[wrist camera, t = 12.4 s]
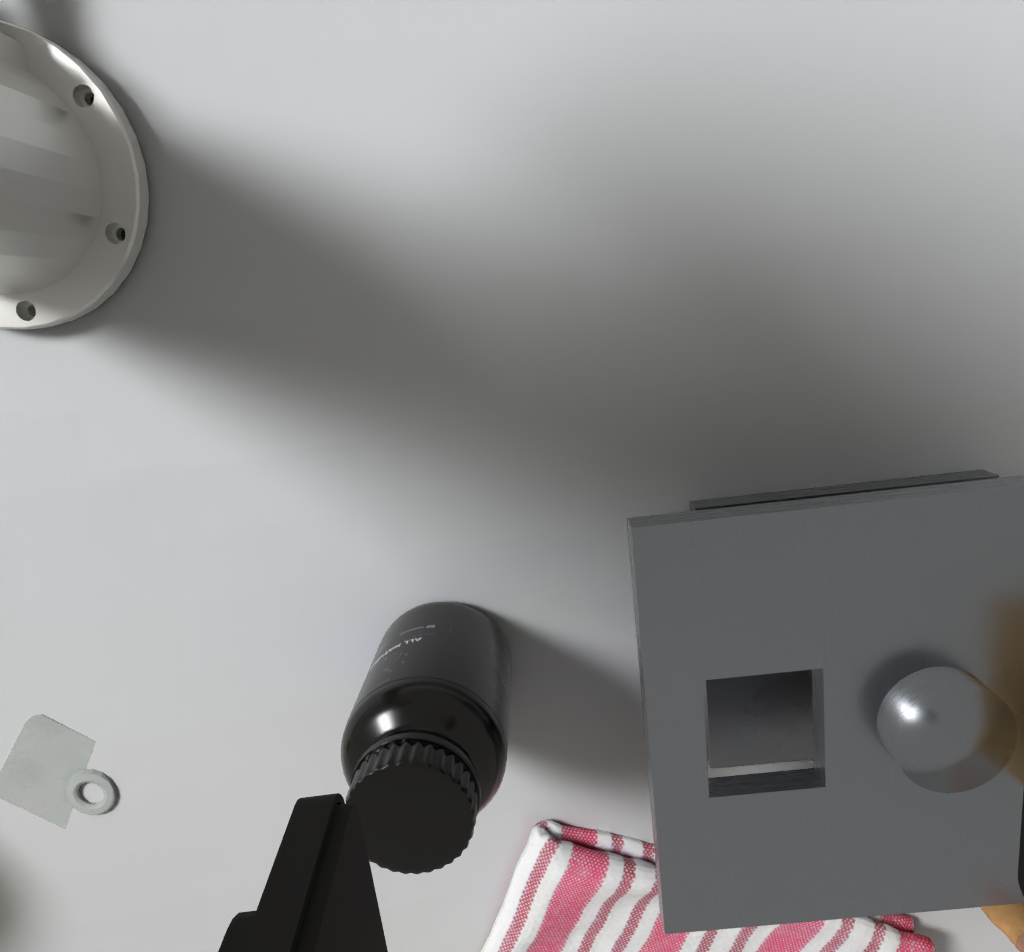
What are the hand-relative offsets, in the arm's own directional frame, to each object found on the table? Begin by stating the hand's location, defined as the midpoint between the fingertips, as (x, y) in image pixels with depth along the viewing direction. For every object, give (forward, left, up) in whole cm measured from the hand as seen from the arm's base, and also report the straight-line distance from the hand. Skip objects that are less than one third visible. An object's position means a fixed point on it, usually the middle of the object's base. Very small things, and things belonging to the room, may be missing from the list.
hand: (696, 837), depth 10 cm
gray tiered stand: (+10, +12, -26) cm, 31 cm away
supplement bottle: (+10, -7, -26) cm, 29 cm away
